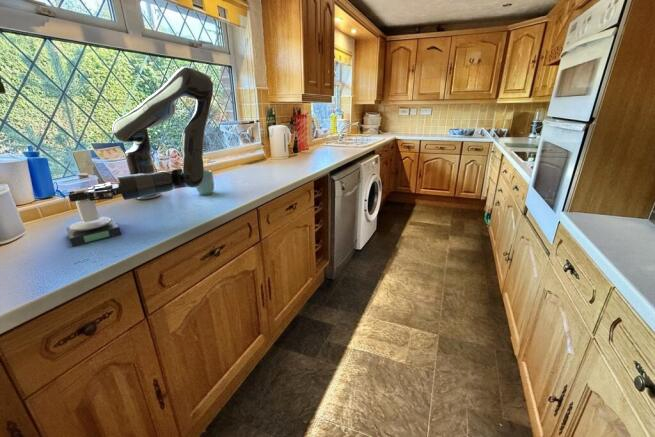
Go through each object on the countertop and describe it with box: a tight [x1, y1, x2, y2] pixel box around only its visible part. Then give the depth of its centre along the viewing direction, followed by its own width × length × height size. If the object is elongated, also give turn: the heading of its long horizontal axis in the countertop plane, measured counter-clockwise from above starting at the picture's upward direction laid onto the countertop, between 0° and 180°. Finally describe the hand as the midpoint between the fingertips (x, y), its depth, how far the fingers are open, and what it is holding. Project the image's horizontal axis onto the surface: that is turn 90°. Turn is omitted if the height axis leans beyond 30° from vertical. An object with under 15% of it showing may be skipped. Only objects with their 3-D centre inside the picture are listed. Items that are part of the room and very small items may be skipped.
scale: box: [65, 216, 122, 247], centre depth 93 cm, size 12×12×4 cm
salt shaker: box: [73, 187, 100, 222], centre depth 90 cm, size 4×4×10 cm
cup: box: [195, 169, 215, 196], centre depth 134 cm, size 8×8×10 cm
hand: (70, 196), depth 88 cm, fingers closed on salt shaker, 3 cm apart
